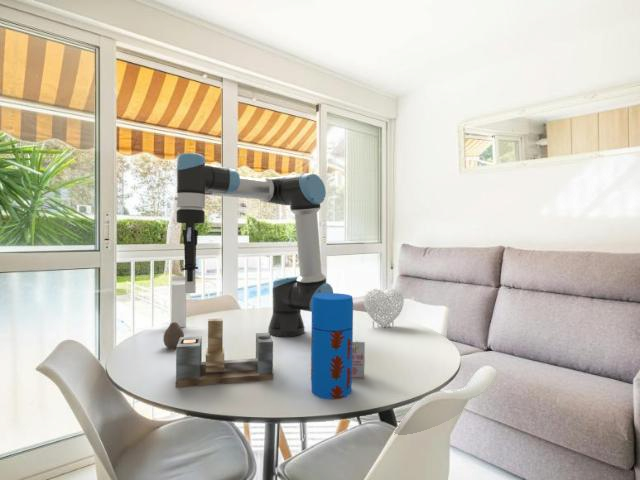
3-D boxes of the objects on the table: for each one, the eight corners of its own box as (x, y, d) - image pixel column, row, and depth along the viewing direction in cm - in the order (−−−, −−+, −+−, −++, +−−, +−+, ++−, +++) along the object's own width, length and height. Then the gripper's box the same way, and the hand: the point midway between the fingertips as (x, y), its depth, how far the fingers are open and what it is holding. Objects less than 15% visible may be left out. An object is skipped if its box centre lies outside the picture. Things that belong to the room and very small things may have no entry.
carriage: (224, 363, 114) (224, 316, 114) (224, 372, 107) (224, 322, 107) (206, 365, 113) (207, 317, 113) (205, 373, 106) (205, 322, 106)
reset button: (195, 348, 110) (196, 339, 110) (195, 351, 107) (195, 342, 107) (184, 348, 109) (184, 340, 109) (183, 352, 106) (183, 343, 106)
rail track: (268, 365, 120) (268, 330, 120) (273, 379, 108) (273, 340, 108) (180, 371, 113) (180, 334, 113) (175, 387, 102) (175, 345, 102)
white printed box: (341, 373, 114) (341, 339, 114) (363, 374, 113) (364, 340, 113) (340, 377, 110) (341, 343, 110) (364, 378, 110) (364, 344, 110)
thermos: (309, 383, 106) (310, 293, 106) (348, 382, 107) (349, 293, 106) (312, 400, 95) (313, 299, 95) (354, 399, 96) (356, 299, 96)
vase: (177, 350, 133) (177, 325, 133) (159, 349, 135) (159, 324, 135) (187, 345, 140) (187, 321, 140) (170, 344, 142) (170, 320, 141)
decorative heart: (398, 323, 178) (399, 287, 178) (406, 329, 168) (407, 290, 167) (361, 324, 176) (361, 287, 176) (366, 330, 165) (367, 290, 165)
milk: (186, 327, 167) (186, 276, 167) (171, 328, 165) (171, 277, 165) (185, 324, 173) (185, 275, 173) (170, 325, 171) (171, 275, 170)
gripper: (179, 210, 113) (178, 289, 114) (173, 207, 101) (173, 296, 101) (205, 210, 115) (205, 289, 115) (203, 208, 102) (202, 296, 103)
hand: (190, 292), depth 108 cm, fingers closed
